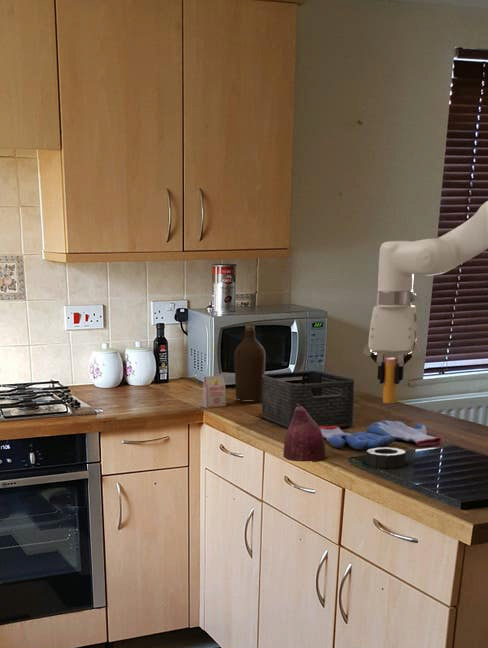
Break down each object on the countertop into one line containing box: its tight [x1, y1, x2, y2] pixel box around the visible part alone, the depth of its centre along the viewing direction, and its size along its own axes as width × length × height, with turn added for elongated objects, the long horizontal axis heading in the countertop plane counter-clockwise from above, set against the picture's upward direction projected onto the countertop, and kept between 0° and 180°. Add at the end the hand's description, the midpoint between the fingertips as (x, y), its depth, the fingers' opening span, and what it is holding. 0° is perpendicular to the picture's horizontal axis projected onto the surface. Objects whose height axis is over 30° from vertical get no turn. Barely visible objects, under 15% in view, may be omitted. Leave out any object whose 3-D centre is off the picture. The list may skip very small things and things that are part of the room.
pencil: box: [382, 357, 398, 404], centre depth 201 cm, size 3×3×10 cm
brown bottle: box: [233, 325, 267, 404], centre depth 295 cm, size 11×11×25 cm
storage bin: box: [261, 370, 355, 429], centre depth 258 cm, size 29×19×13 cm
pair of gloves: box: [319, 419, 442, 451], centre depth 232 cm, size 32×26×4 cm
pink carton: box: [202, 375, 227, 409], centre depth 290 cm, size 4×7×10 cm, turn 108°
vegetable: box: [283, 404, 327, 463], centre depth 213 cm, size 10×10×15 cm
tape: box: [365, 446, 407, 469], centre depth 207 cm, size 9×9×3 cm
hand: (390, 382), depth 201 cm, fingers closed on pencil, 2 cm apart
